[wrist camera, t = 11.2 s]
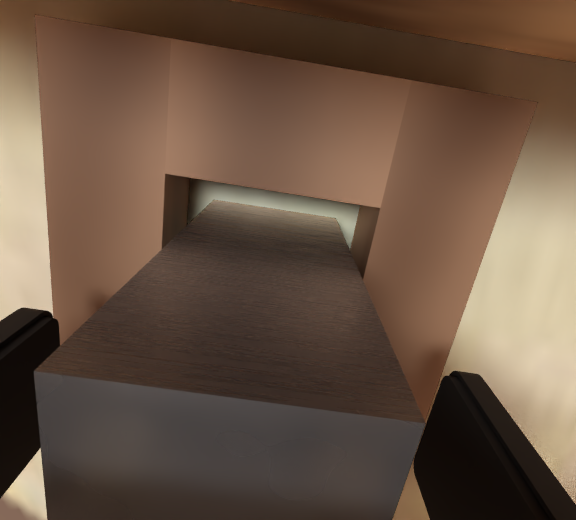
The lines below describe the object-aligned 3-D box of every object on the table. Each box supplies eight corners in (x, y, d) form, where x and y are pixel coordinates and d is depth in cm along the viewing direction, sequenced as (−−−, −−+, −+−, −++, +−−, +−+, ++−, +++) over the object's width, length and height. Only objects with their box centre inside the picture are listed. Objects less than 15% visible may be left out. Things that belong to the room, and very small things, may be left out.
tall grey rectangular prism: (335, 218, 12) (425, 423, 4) (301, 391, 15) (310, 752, 6) (214, 199, 12) (33, 371, 4) (198, 377, 15) (67, 728, 6)
